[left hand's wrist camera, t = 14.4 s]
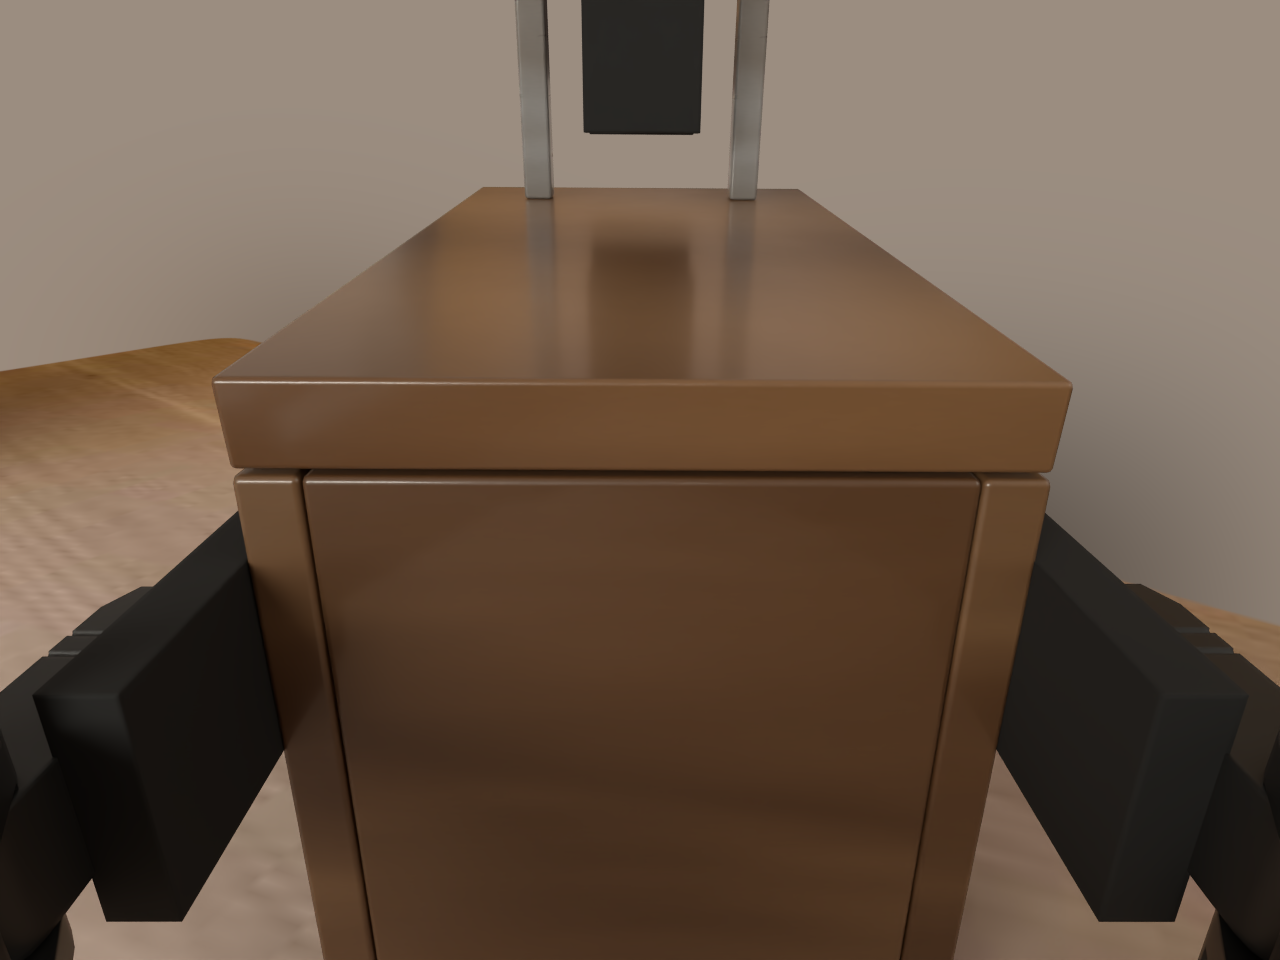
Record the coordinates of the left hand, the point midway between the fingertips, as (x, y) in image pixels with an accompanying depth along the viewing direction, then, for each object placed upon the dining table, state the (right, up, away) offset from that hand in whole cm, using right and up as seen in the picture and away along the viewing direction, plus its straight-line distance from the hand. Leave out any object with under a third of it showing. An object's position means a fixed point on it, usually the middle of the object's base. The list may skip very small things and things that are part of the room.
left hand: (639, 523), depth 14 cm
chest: (0, -5, +6) cm, 8 cm away
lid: (0, +4, +3) cm, 5 cm away
